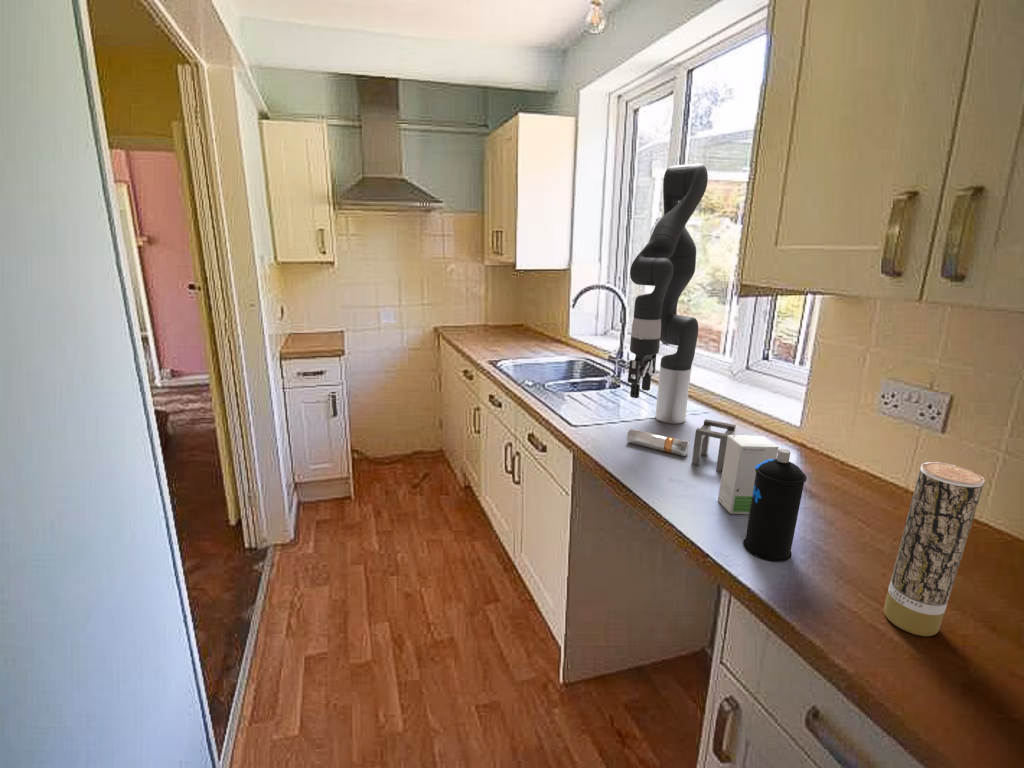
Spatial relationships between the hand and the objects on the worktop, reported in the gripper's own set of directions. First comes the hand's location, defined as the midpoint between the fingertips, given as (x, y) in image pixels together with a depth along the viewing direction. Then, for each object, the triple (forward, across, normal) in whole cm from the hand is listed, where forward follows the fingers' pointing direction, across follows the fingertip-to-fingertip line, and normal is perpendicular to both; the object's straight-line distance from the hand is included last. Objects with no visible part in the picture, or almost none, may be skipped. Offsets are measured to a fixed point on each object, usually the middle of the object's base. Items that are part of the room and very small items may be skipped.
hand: (640, 393), depth 138 cm
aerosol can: (+15, +34, +39) cm, 53 cm away
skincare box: (+15, +20, +32) cm, 40 cm away
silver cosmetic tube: (+15, 0, +6) cm, 16 cm away
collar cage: (+15, 0, +21) cm, 25 cm away
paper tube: (+15, +42, +60) cm, 74 cm away
